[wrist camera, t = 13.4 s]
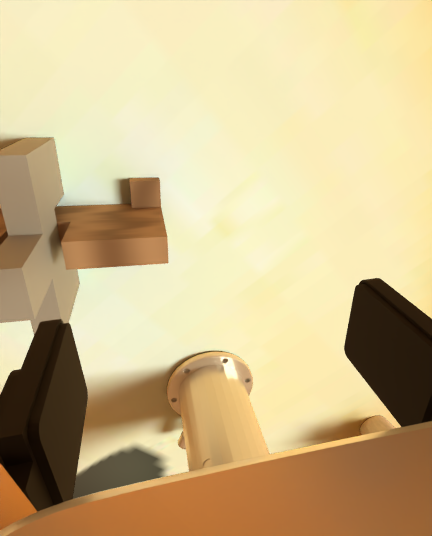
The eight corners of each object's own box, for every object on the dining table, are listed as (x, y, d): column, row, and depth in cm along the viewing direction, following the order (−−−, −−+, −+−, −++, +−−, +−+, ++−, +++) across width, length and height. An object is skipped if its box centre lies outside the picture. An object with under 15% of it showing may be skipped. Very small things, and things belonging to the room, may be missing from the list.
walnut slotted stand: (158, 177, 38) (165, 205, 29) (162, 247, 41) (169, 290, 33) (-77, 182, 34) (-152, 216, 25) (-51, 259, 37) (-108, 312, 28)
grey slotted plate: (79, 283, 41) (51, 384, 27) (56, 285, 41) (15, 388, 27) (53, 137, 34) (-3, 173, 20) (25, 137, 34) (-53, 174, 20)
